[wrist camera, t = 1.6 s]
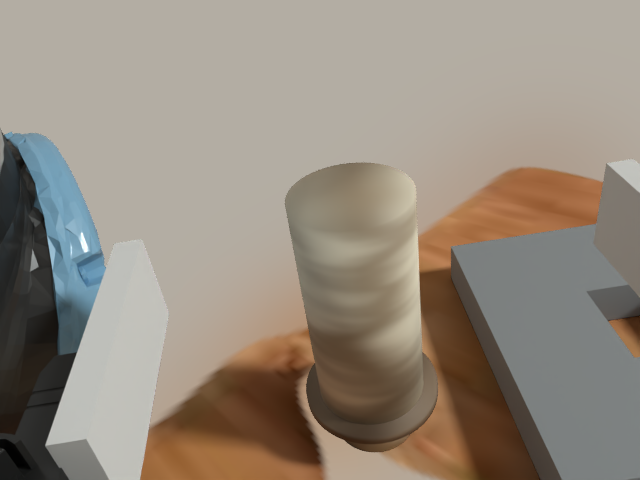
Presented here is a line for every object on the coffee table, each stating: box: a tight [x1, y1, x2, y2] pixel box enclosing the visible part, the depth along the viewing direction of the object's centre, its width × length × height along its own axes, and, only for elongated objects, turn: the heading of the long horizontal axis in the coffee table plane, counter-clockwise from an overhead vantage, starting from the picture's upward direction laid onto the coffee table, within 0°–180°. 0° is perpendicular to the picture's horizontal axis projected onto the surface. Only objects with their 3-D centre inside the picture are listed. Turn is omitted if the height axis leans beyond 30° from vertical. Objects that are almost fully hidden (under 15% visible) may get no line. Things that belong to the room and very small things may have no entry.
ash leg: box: [285, 163, 438, 452], centre depth 31 cm, size 8×8×16 cm
